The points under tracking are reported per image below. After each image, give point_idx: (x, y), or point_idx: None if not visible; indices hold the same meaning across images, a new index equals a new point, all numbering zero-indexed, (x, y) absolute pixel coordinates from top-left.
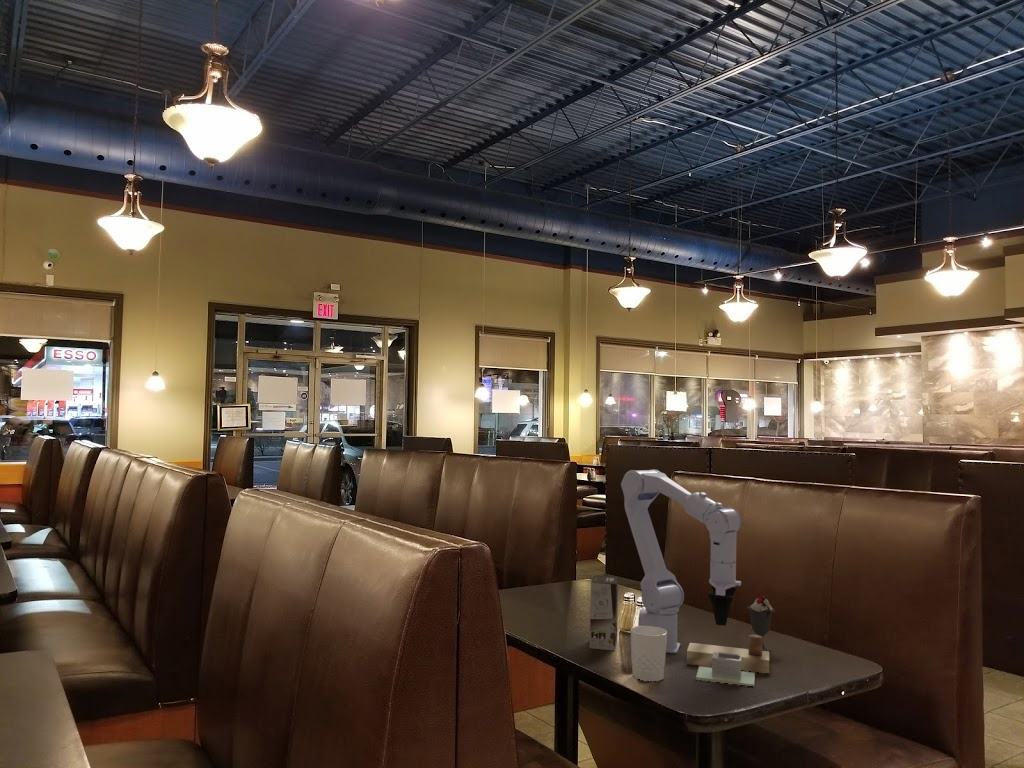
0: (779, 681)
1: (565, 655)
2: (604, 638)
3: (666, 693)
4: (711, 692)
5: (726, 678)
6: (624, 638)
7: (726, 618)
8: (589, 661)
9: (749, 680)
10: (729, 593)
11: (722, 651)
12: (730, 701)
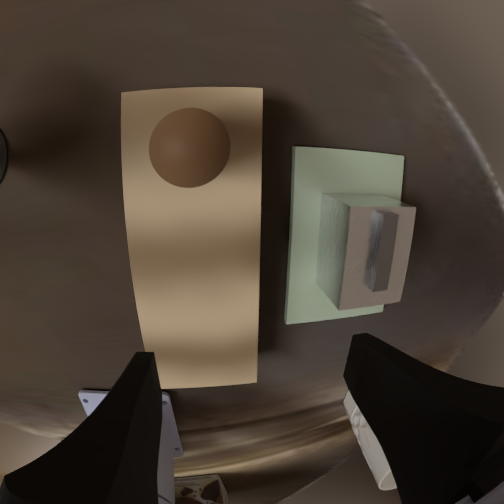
0: (320, 70)
1: (281, 497)
2: (225, 500)
3: (450, 335)
4: (444, 260)
5: None
6: None
7: (397, 352)
8: (303, 474)
9: (376, 167)
10: (128, 497)
11: (209, 282)
12: (478, 216)
